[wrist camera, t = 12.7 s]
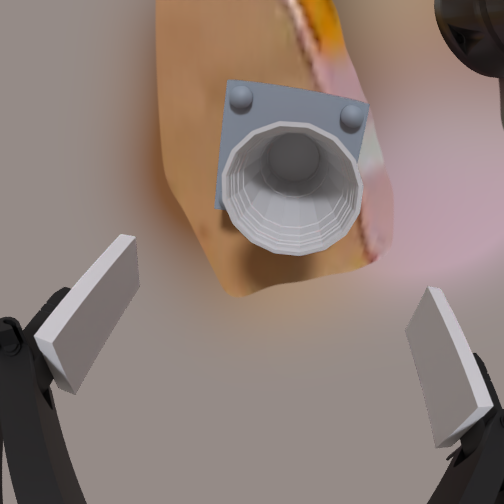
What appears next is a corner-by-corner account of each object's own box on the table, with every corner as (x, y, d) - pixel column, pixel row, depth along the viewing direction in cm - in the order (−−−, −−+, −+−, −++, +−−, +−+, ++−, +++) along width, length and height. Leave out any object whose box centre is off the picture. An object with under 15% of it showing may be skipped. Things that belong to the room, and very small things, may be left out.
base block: (360, 101, 34) (371, 105, 29) (335, 213, 42) (341, 233, 37) (235, 79, 35) (226, 79, 30) (222, 193, 42) (212, 211, 37)
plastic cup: (252, 97, 31) (232, 106, 21) (353, 123, 31) (382, 145, 21) (233, 190, 37) (208, 240, 26) (326, 213, 37) (337, 271, 26)
